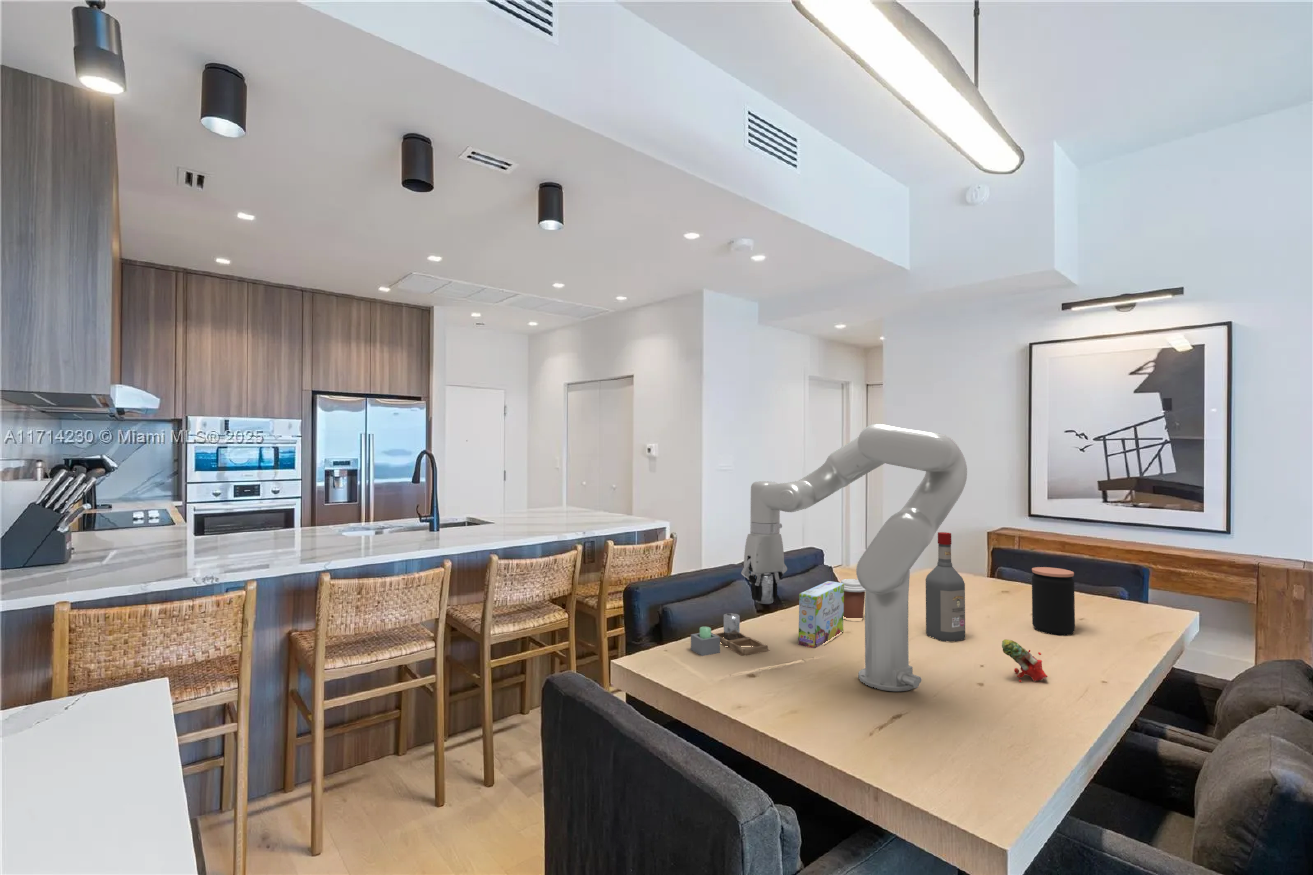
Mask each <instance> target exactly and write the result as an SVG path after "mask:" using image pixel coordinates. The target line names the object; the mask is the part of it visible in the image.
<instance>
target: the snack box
mask: <svg viewBox="0 0 1313 875" xmlns="http://www.w3.org/2000/svg"><path fill="white" fill-rule="evenodd" d="M798 596H799V597H798V599H799V600H798V603H799V604H798V638H797V639H798V645H799V646H803V647H806V646H807V648H813V649H816V648H818V647H820V646H823V645H822V644H823V643H825V642H826V641H828V640H830V639H831V638H832V637H834V636H836V635H837V634H839V633H840V632H842V631H843V632H844V619H843V615H844V583H841V582H838V581H831V580H830V581H829V580H827V581H825V582H823V583H820V584H818V585H816V586H814V587H811V588H809V589H807V590H805V591H802V592H800V593H799V594H798Z"/></svg>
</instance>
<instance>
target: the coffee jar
mask: <svg viewBox="0 0 1313 875" xmlns="http://www.w3.org/2000/svg"><path fill="white" fill-rule="evenodd" d="M1031 571H1032V574H1033V575H1032V576H1031V617H1032V621H1031V622H1032V626H1033V628H1034V629H1035V630H1036V631H1038V632H1040V633H1044V634H1047V635H1052V636H1053V635H1054V636H1063V637H1064V636H1071V635H1072V634H1073V633H1074V632H1075V631H1076V614H1075V613H1076V609H1075V605H1076V604H1075V603H1076V602H1075V599H1076V598H1075V580H1074V579H1073V577H1074V576H1075V572H1074V571H1073V570H1072V571H1071V570H1068V569H1065V568H1059V567H1058V568H1057V567H1049V566H1048V567H1047V566H1043V567H1042V566H1041V567H1040V566H1037V567H1036V566H1035V567H1032V568H1031Z"/></svg>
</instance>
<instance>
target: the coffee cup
mask: <svg viewBox="0 0 1313 875" xmlns="http://www.w3.org/2000/svg"><path fill="white" fill-rule="evenodd" d="M840 583H844V615H843V616H844V617H846V618H863V619H864V613H865V589H864V588H863V587H862V586H861V584H860V583H859V581H858V579H857V578H856V579H855V578H846V579H845V578H844V579H841V580H840Z"/></svg>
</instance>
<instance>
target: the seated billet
mask: <svg viewBox="0 0 1313 875" xmlns="http://www.w3.org/2000/svg"><path fill="white" fill-rule="evenodd" d="M740 618H741V617H740V614H738V613H730V612H729V613H725V614H723V632H724V638H725V639H727V640H735V639H740V633H741V632H740V629H741V628H740V627H741V624H740V623H741V622H740V620H741V619H740Z"/></svg>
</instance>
